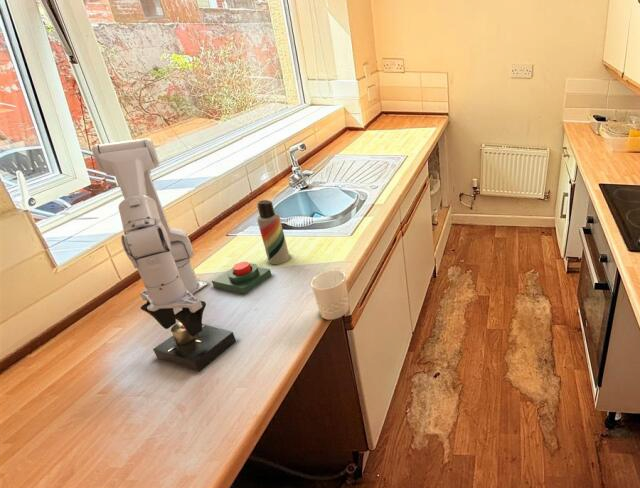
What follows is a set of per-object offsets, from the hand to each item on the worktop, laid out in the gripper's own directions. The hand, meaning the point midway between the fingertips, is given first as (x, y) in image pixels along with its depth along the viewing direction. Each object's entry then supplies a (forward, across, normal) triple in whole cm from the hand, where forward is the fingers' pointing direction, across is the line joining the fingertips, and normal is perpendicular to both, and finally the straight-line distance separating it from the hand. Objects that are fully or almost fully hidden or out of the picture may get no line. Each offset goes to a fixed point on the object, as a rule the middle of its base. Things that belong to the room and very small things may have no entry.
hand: (183, 329), depth 89 cm
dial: (+3, 0, 0) cm, 3 cm away
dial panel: (+6, +2, 0) cm, 6 cm away
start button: (+2, -9, +23) cm, 25 cm away
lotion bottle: (+6, -9, +35) cm, 37 cm away
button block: (+6, -10, +23) cm, 26 cm away
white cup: (+6, +23, +20) cm, 31 cm away
